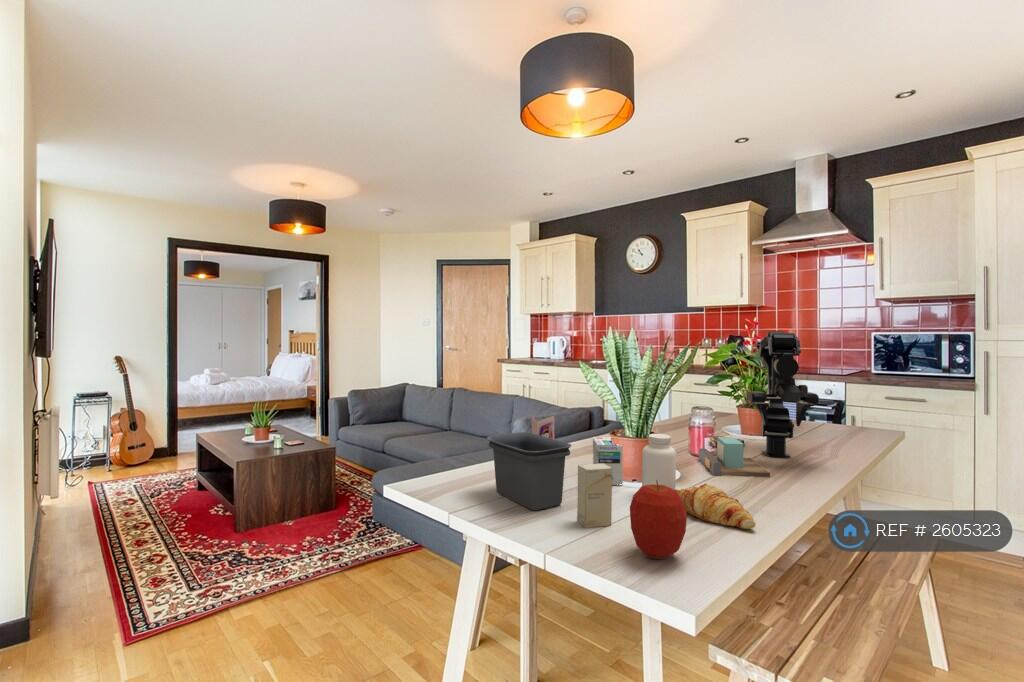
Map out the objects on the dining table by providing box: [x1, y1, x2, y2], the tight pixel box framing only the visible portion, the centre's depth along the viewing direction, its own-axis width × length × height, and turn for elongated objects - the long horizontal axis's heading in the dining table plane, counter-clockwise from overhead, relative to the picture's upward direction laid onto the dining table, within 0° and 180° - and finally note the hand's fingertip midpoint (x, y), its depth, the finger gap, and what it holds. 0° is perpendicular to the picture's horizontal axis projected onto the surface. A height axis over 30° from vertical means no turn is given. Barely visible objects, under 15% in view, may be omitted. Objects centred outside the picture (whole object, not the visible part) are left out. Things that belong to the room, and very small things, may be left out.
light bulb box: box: [592, 436, 624, 486], centre depth 138 cm, size 11×7×11 cm, turn 179°
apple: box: [629, 480, 688, 560], centre depth 91 cm, size 10×10×14 cm
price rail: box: [698, 447, 722, 477], centre depth 151 cm, size 18×2×4 cm, turn 172°
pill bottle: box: [641, 433, 677, 490], centre depth 124 cm, size 8×8×15 cm
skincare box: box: [576, 463, 613, 529], centre depth 107 cm, size 6×4×12 cm
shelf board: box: [714, 456, 771, 478], centre depth 150 cm, size 17×13×1 cm
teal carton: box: [716, 436, 745, 468], centre depth 150 cm, size 5×9×7 cm, turn 172°
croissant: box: [675, 483, 757, 530], centre depth 111 cm, size 21×10×8 cm, turn 31°
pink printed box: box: [531, 414, 555, 439], centre depth 150 cm, size 11×7×15 cm, turn 150°
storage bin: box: [486, 431, 573, 511], centre depth 123 cm, size 21×16×14 cm
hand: (781, 425), depth 153 cm, fingers open, 9 cm apart
